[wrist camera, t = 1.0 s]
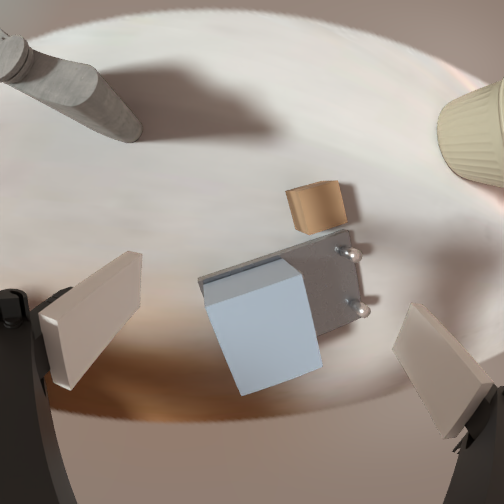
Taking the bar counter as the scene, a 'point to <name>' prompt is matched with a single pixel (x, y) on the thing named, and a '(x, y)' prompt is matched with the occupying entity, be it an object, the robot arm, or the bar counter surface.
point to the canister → (475, 135)
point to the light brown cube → (316, 206)
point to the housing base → (318, 278)
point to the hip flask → (67, 89)
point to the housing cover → (263, 325)
